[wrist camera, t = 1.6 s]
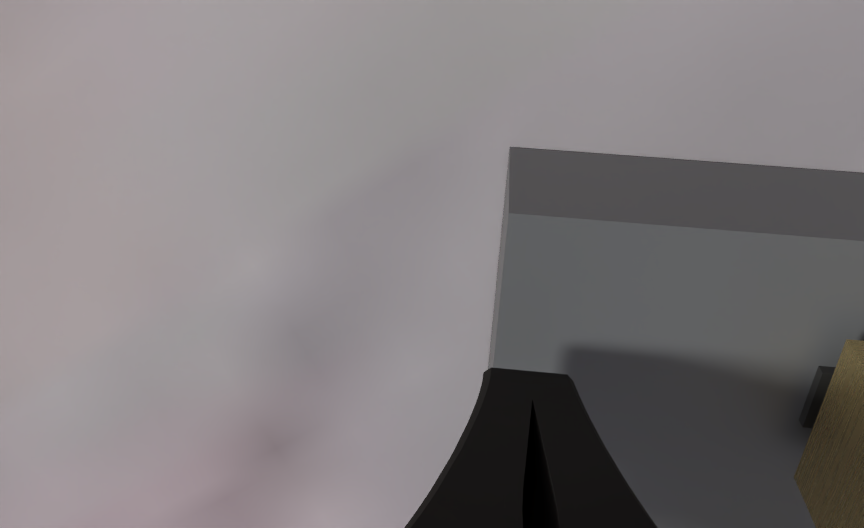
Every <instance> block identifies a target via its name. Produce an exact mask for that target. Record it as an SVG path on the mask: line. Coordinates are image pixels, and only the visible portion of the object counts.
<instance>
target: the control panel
mask: <svg viewBox="0 0 864 528" xmlns="http://www.w3.org/2000/svg"><path fill="white" fill-rule="evenodd" d="M846 339H849V340H860V341H864V173H856V172H842V171H829V170H815V169H802V168H788V167H774V166H761V165H747V164H733V163H720V162H706V161H693V160H679V159H665V158H652V157H638V156H625V155H611V154H597V153H584V152H570V151H556V150H543V149H529V148H516V147H510V150H509V160H508V170H507V180H506V191H505V201H504V211H503V221H502V231H501V242H500V252H499V262H498V272H497V282H496V293H495V303H494V313H493V323H492V334H491V344H490V354H489V364H488V369H490V368H491V367H492V368H503V369H514V370H525V371H536V372H547V373H557V374H568V376H569V377H570V378H571V379H572V380H573V381H574V384H575V387H576V389H577V391H578V394H579V396H580V398H581V400H582V403H583V405H584V407H585V409H586V411H587V413H588V415H589V417H590V419H591V421H592V423H593V425H594V427H595V428H596V430H597V432H598V434H599V436H600V438H601V440H602V441H603V443H604V445H605V447H606V449H607V450H608V452H609V454H610V455H611V457H612V459H613V460H614V462H615V464H616V465H617V467H618V469H619V470H620V472H621V474H622V475H623V477H624V479H625V480H626V482H627V483H628V485H629V486H630V488H631V490H632V491H633V493H634V494H635V496H636V497H637V499H638V500H639V501H640V503H641V504H642V506H643V507H644V509H645V510H646V512H647V513H648V515H649V516H650V518H651V519H652V520H653V522H654V523H655V524H656V526H657V527H658V528H816V527H815V524H814V522H813V520H812V518H811V515H810V513H809V511H808V509H807V506H806V504H805V502H804V499H803V497H802V495H801V493H800V490H799V488H798V486H797V484H796V481H795V479H794V475H795V472H796V470H797V467H798V464H799V462H800V459H801V457H802V454H803V451H804V449H805V446H806V444H807V441H808V438H809V436H810V433H811V431H812V428H813V425H814V423H815V420H816V417H817V415H818V412H819V410H820V407H821V404H822V402H823V399H824V397H825V394H826V391H827V389H828V386H829V384H830V381H831V378H832V376H833V373H834V370H835V368H836V365H837V363H838V360H839V357H840V355H841V352H842V350H843V347H844V344H845V342H846Z"/></svg>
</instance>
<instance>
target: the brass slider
mask: <svg viewBox="0 0 864 528" xmlns="http://www.w3.org/2000/svg"><path fill="white" fill-rule="evenodd" d="M794 479H795V481H796V484H797V486H798V488H799V490H800V493H801V495H802V497H803V499H804V502H805V504H806V506H807V509H808V511H809V513H810V515H811V518H812V520H813V522H814V524H815V527H816V528H864V341H860V340H849V339H846V342H845V344H844V347H843V350H842V352H841V355H840V357H839V360H838V363H837V365H836V368H835V370H834V373H833V376H832V378H831V381H830V384H829V386H828V389H827V391H826V394H825V397H824V399H823V402H822V404H821V407H820V410H819V412H818V415H817V417H816V420H815V423H814V425H813V428H812V431H811V433H810V436H809V438H808V441H807V444H806V446H805V449H804V451H803V454H802V457H801V459H800V462H799V464H798V467H797V470H796V472H795V475H794Z"/></svg>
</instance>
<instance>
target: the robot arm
mask: <svg viewBox="0 0 864 528" xmlns="http://www.w3.org/2000/svg"><path fill="white" fill-rule="evenodd" d="M405 528H658V527H657V526H656V524H655V523H654V522H653V520H652V519H651V518H650V516H649V515H648V513H647V512H646V510H645V509H644V507H643V506H642V504H641V503H640V501H639V500H638V499H637V497H636V496H635V494H634V493H633V491H632V490H631V488H630V486H629V485H628V483H627V482H626V480H625V479H624V477H623V475H622V474H621V472H620V470H619V469H618V467H617V465H616V464H615V462H614V460H613V459H612V457H611V455H610V454H609V452H608V450H607V449H606V447H605V445H604V443H603V441H602V440H601V438H600V436H599V434H598V432H597V430H596V428H595V427H594V425H593V423H592V421H591V419H590V417H589V415H588V413H587V411H586V409H585V407H584V405H583V403H582V400H581V398H580V396H579V394H578V391H577V389H576V387H575V384H574V381H573V380H572V379H571V378H570V377H569V376H568V374H557V373H547V372H536V371H525V370H514V369H503V368H492V367H491V368H490V369H488V370H487V371H485V372H484V374H483V381H482V386H481V389H480V393H479V396H478V399H477V402H476V405H475V407H474V409H473V412H472V414H471V417H470V419H469V421H468V424H467V426H466V428H465V430H464V432H463V434H462V436H461V438H460V440H459V442H458V444H457V446H456V448H455V450H454V452H453V454H452V455H451V457H450V459H449V461H448V462H447V464H446V466H445V467H444V469H443V471H442V472H441V474H440V476H439V477H438V479H437V481H436V482H435V484H434V486H433V487H432V489H431V491H430V492H429V494H428V495H427V497H426V498H425V500H424V501H423V503H422V504H421V506H420V507H419V508H418V510H417V511H416V513H415V514H414V516H413V517H412V518H411V520H410V521H409V522H408V524H407V525H406V526H405Z"/></svg>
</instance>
